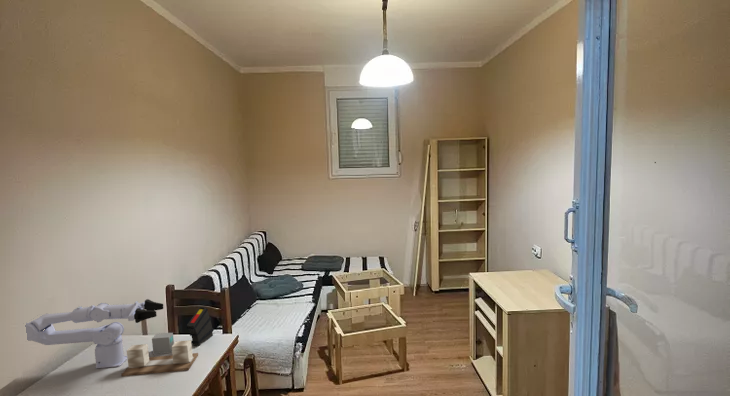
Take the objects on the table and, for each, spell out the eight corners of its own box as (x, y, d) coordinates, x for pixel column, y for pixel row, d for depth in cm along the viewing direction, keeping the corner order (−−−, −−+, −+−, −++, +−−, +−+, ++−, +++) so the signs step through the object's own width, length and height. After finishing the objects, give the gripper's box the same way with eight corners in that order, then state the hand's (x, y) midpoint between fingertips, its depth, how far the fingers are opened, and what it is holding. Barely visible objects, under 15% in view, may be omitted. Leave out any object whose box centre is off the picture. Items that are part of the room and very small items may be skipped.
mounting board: (121, 376, 157) (119, 355, 156) (136, 360, 169) (133, 341, 168) (188, 370, 159) (186, 349, 158) (198, 355, 171) (196, 336, 170)
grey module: (153, 354, 174) (151, 338, 173) (157, 349, 178) (156, 334, 177) (170, 352, 174) (169, 337, 174) (174, 347, 179) (173, 332, 178)
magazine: (217, 329, 192) (206, 306, 184) (203, 352, 181) (190, 329, 174) (210, 328, 193) (199, 306, 185) (195, 352, 182) (183, 329, 175)
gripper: (115, 309, 159) (152, 307, 160) (131, 295, 173) (165, 294, 175) (116, 326, 160) (153, 324, 161) (132, 311, 174) (166, 310, 176)
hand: (159, 310), depth 168 cm, fingers open, 7 cm apart
